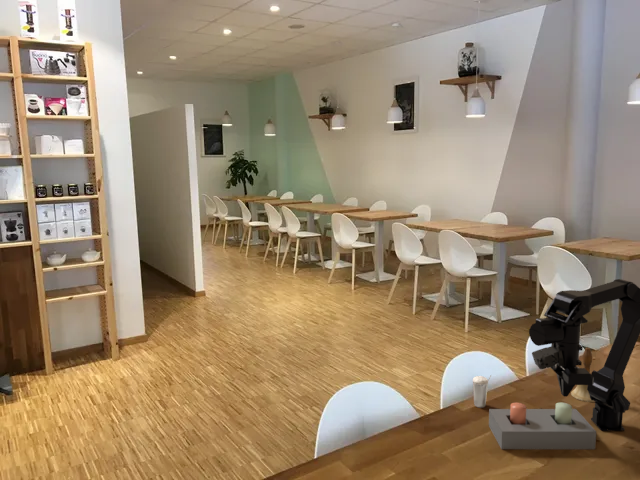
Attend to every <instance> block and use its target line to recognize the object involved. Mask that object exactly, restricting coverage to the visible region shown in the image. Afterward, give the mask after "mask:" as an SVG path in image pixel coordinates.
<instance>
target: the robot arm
mask: <svg viewBox="0 0 640 480" xmlns="http://www.w3.org/2000/svg"><path fill="white" fill-rule="evenodd" d="M616 300H619V301H620V302H621V306H620V312H621V317H622V319H621V320H622V321H621V323H620V325H619V328H618V330H617V332H616V336H615V338H614V340H613V343H612V345H611V347H610V350H609V351H608V355H607V357H606V360H605V362H604V365H603V367H601V368H600V369H599V370H597V371H596V370H592V371H591V372H590V373H589V372H588V371H587V370H586V369H585V368H584V367H579V366H583V365H582V363H583V361H581V360H580V351H583V348H584V347H583V346H582V345H581V344H580V343H581V330H582V329H581V328H582V327H581V325H582V324H587V323H588V322H589V321H588V319H587V318H585V315H587V314H589V313H590V312H591V310H592V309H593V308H595V307H597V306H600V305H604V304H607V303H609V302H612V301H616ZM563 314H564V315H563ZM543 316H544V317H542V318H541V317H539V318H538V317H537V318H536V319H535V323H532V324H531V326H530V327H529V330H528V334H529V338H530V340H531V341H532V344H534V345H535V346H539V347H541V346H545V345H550V346H548V347H544V348H541V349H537V350H535V351H532V352H531V355H532V357H533V361H534V364H535V365H536V366H537V367H538V369H540V370H545V369H549V368H550V369H551V370H552V371H553V372H554V373H555V374H556V378H557V381H558V386H559V390H560V393H561V395H562V397H568V396H569V395H570V394H571V392H572V390H574V388H575V386H577V385H588V386H587V390H588V392H589V395H590V399H591V400H593V401H595V402H594V407H593V408H592V417H591V418H590V420H591V422H592V423H594V424H595V426H596V428H598V429H599V430H600V431H602V432H624V431H625V430H626V429H625V427H624V426H623V414H626V411H628V410H629V408H630V405H631V401H629V399H628V398H627V397H626V396H625V395H624V392H625V389H626V386H625V380H624V373H625V370H626V368H627V366H628V363H629V361H630V359H631V356H632V354H633V352H634V348H635V346H636V344H637V341H638V338H639V336H640V287H639V286H638V285H637V284H635V282H632V281H629V280H625V279H622V278H617V279H613V281H610V282H607V283H603V284H600V285H597V286H593V287H590V288H587V289H584V290H575V289H574V290H573V289H571V290H570V289H569V290H561V291H559V292H557V293H556V294H555V296H554V297H553V299H552V301H551V303H550V304H549V306H548V307H547V309H546V311H545V312H544V314H543Z"/></svg>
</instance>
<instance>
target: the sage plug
mask: <svg viewBox="0 0 640 480" xmlns="http://www.w3.org/2000/svg"><path fill="white" fill-rule="evenodd" d="M554 409H555V422H556V423H557V425H571V417H572V409H573V406H572V405H571V404H570V403H566V402H557V403H555V408H554Z"/></svg>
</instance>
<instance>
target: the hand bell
mask: <svg viewBox="0 0 640 480" xmlns="http://www.w3.org/2000/svg"><path fill="white" fill-rule="evenodd" d="M583 351H584V352H583V353H582V363H583V366H584V367H583V368H585V369H586V370H587V371H588V372H589V373H590V374H591V372H590V368H591V365H592V362H593V354H592V351H591V348H590V347H585V349H584V350H583ZM587 386H588V385H576V387H574V388H573V389H572V390H571V392H570V395H571V397H573V398H574V399H576V400H578V401H580V402H585V403H595V401H593V400H591V399H590V395H589V392H588V390H587Z"/></svg>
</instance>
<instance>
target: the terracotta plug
mask: <svg viewBox="0 0 640 480" xmlns="http://www.w3.org/2000/svg"><path fill="white" fill-rule="evenodd" d="M509 409H510V423H511V425H526V409H527V405H526V404H524V403H521V402H512V403H510V408H509Z"/></svg>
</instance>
